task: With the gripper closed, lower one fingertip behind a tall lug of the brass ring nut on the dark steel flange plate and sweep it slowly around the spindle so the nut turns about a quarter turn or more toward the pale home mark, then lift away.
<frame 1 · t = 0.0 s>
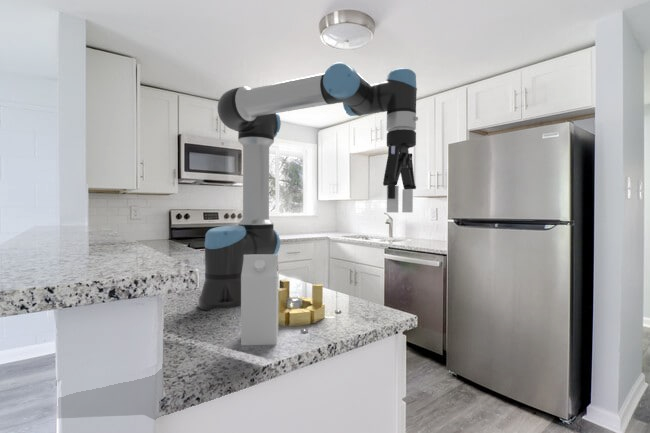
hand: (400, 212, 90), 28 cm above the counter, fingers open, 13 cm apart
flange plate: (294, 320, 88), on the counter
milk carton: (260, 344, 73), on the counter
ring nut: (294, 300, 88), point 5 cm above the counter, hinge at 0.0°
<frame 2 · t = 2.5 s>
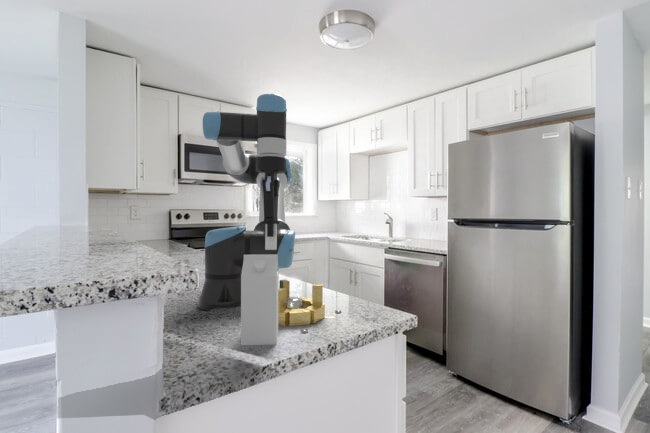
hand: (270, 249, 88), 18 cm above the counter, fingers closed
nothing on the counter moved.
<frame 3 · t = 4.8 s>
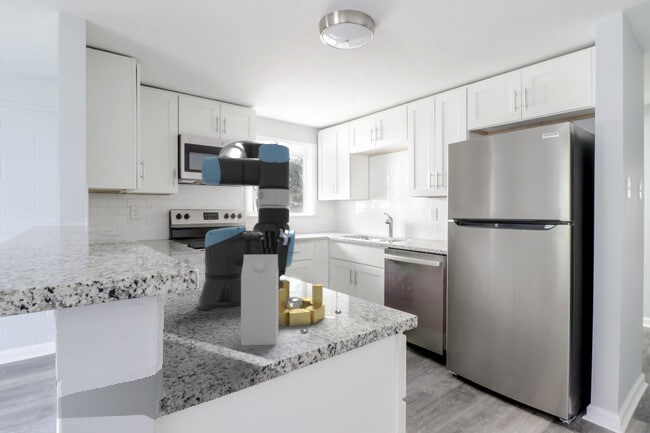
hand: (273, 302, 85), 6 cm above the counter, fingers closed
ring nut: (294, 300, 88), point 5 cm above the counter, hinge at 0.0°, touching gripper
everything else where it was.
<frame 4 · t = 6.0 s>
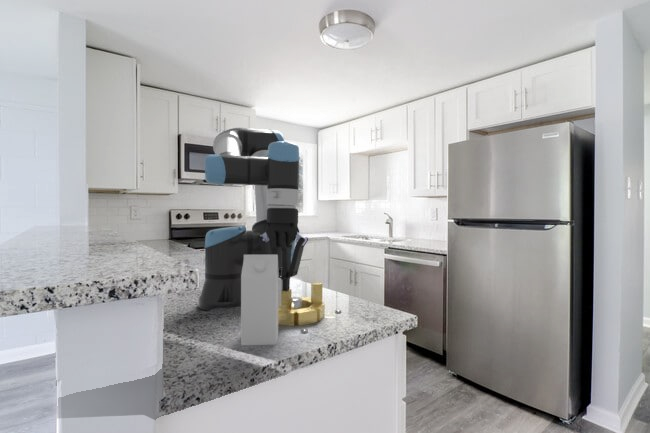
hand: (281, 304, 83), 6 cm above the counter, fingers closed
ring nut: (294, 300, 88), point 5 cm above the counter, hinge at 15.1°, touching gripper
everything else where it was.
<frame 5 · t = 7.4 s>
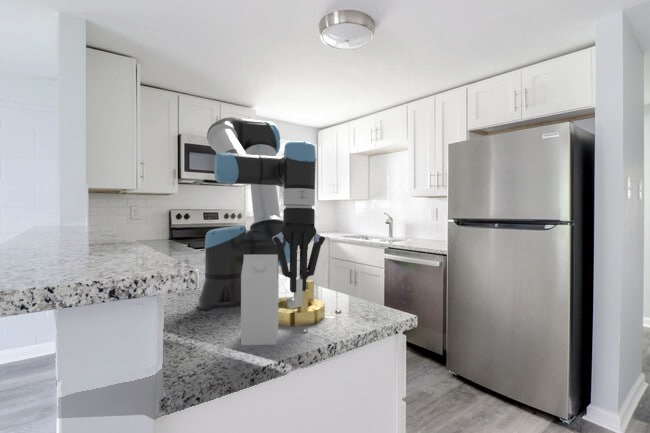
hand: (297, 305, 82), 6 cm above the counter, fingers closed
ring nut: (294, 300, 88), point 5 cm above the counter, hinge at 53.8°, touching gripper
everything else where it was.
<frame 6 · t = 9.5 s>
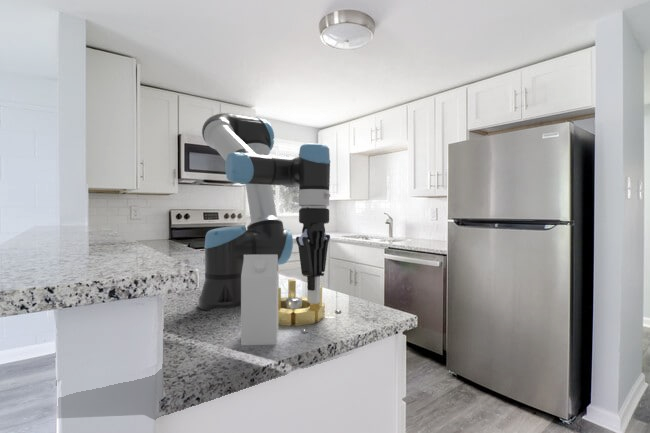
hand: (313, 302, 85), 6 cm above the counter, fingers closed
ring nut: (294, 300, 88), point 5 cm above the counter, hinge at 99.9°, touching flange plate, gripper
everything else where it was.
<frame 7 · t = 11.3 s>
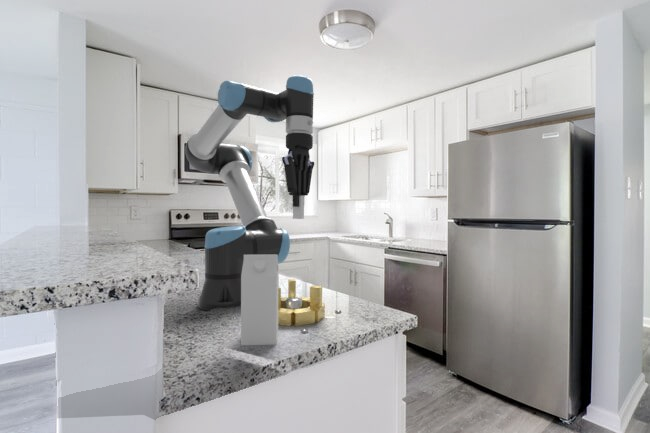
hand: (298, 218, 96), 26 cm above the counter, fingers closed
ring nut: (294, 300, 88), point 5 cm above the counter, hinge at 99.9°
everything else where it was.
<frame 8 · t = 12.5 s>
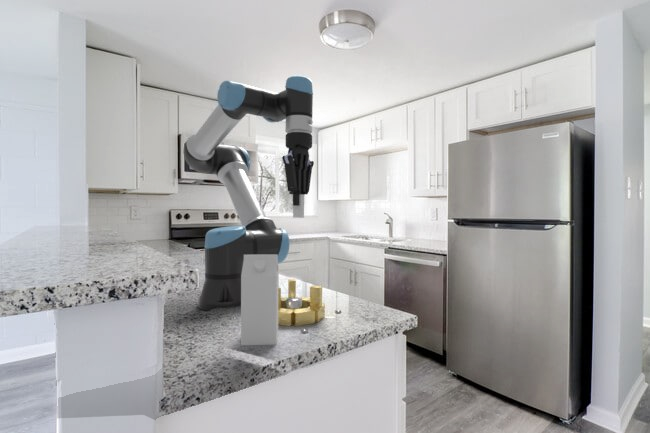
hand: (298, 217, 97), 26 cm above the counter, fingers closed
nothing on the counter moved.
at the end: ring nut at +100° (first picture: +0°); the gripper is holding nothing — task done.
